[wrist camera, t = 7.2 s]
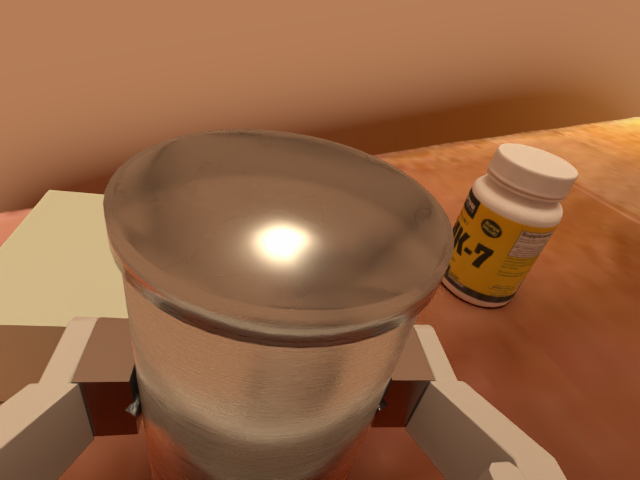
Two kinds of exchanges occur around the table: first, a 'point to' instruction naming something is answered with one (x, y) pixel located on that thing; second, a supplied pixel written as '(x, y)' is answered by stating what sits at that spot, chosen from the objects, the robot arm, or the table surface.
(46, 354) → the block
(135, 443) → the table surface
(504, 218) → the supplement bottle
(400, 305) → the clear glass canister
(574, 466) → the table surface
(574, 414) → the table surface
